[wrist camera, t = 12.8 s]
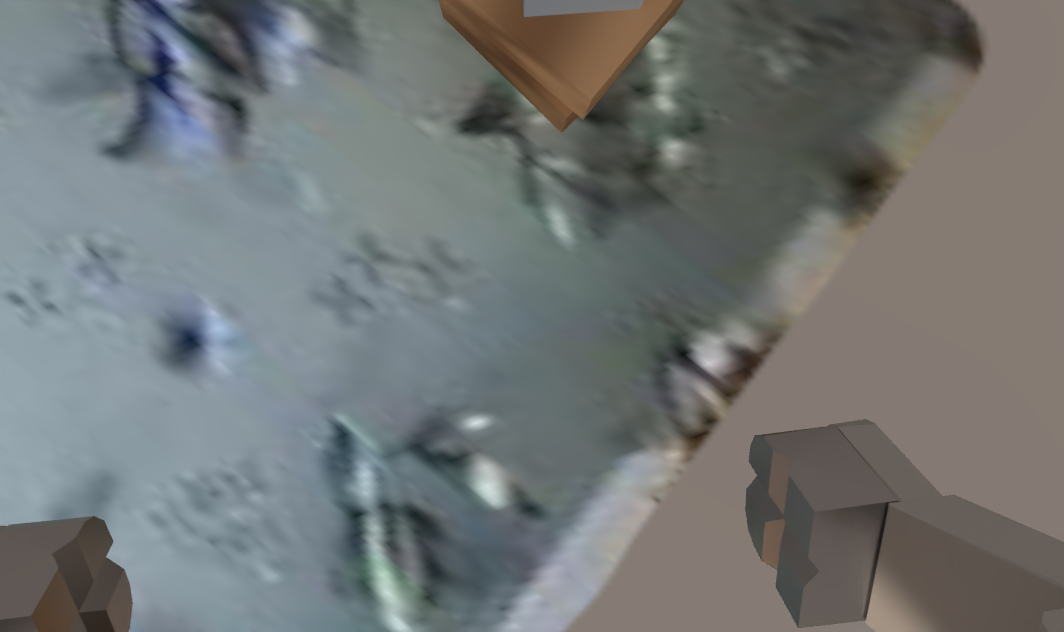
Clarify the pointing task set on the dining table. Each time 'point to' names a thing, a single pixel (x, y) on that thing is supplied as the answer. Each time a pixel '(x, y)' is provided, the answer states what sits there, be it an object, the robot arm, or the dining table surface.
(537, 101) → the tower base
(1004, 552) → the robot arm
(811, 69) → the dining table surface
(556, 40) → the tower top
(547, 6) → the pillar
